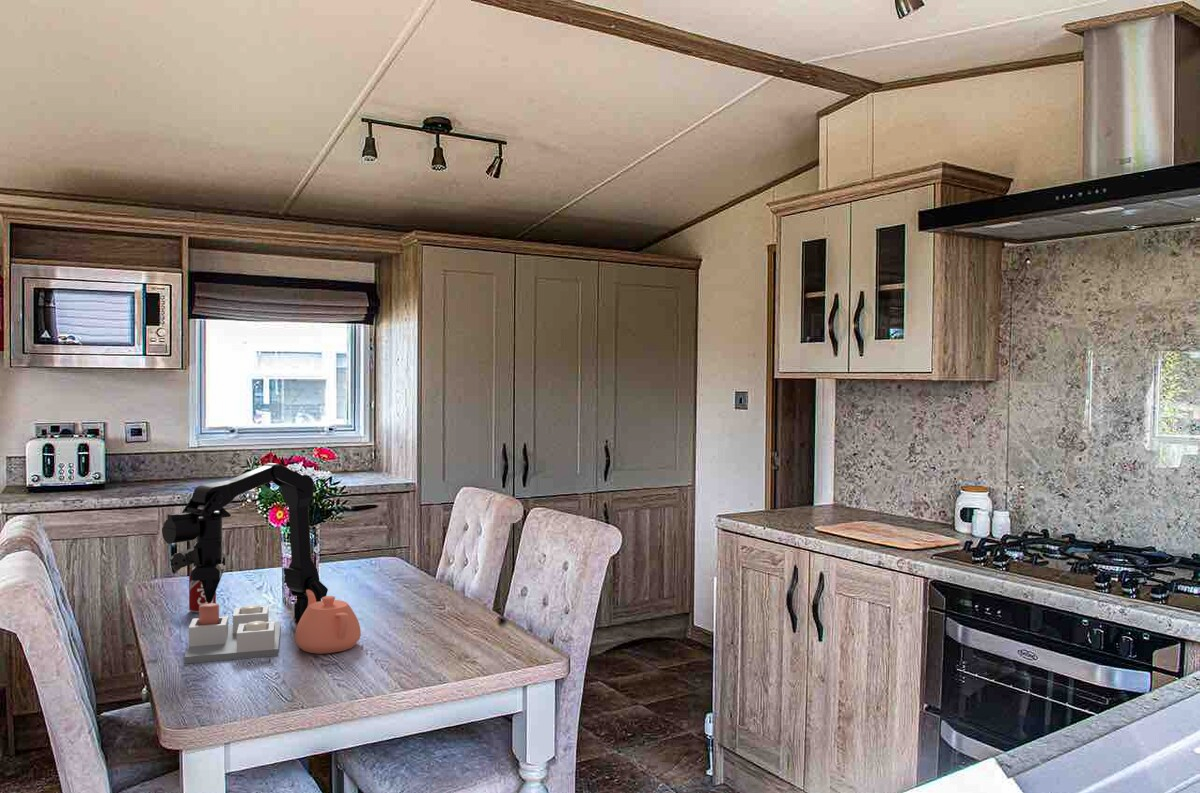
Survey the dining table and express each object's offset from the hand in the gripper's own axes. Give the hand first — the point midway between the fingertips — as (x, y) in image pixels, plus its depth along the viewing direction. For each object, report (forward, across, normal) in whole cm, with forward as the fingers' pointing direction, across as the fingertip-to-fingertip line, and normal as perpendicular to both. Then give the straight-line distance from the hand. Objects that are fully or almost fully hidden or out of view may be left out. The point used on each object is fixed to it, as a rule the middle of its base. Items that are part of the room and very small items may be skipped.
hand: (209, 601), depth 209 cm
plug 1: (+9, -8, +9) cm, 15 cm away
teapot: (+11, +8, +27) cm, 30 cm away
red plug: (+6, 0, 0) cm, 6 cm away
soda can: (+11, -35, -5) cm, 37 cm away
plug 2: (+9, +8, +11) cm, 16 cm away
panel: (+11, 0, +6) cm, 12 cm away
